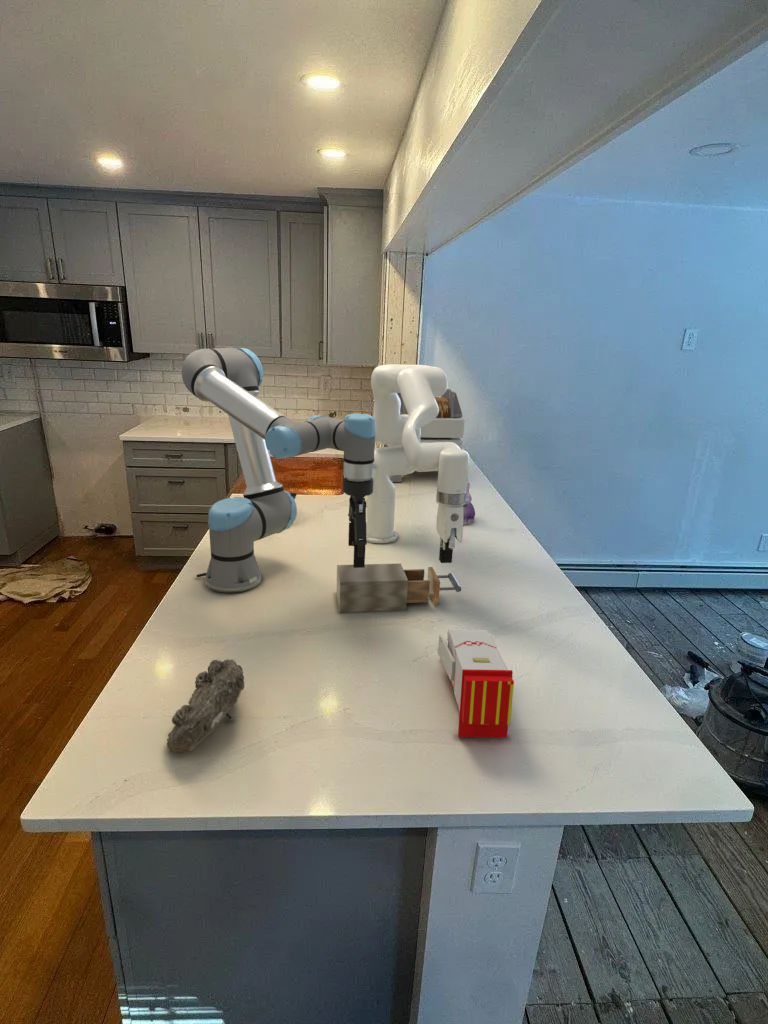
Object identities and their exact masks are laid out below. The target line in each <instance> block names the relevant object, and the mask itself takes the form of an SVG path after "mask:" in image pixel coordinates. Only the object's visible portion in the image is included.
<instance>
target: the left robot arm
mask: <svg viewBox="0 0 768 1024" xmlns="http://www.w3.org/2000/svg"><path fill="white" fill-rule="evenodd" d="M181 365H182V366H181V379H182V382H183V385H184V386H185V388H186V389H187V390H188V391H189V393H191V395H193V396H194V397H195V398H198V399H199V400H200V401H202V402H206V403H207V402H210V403H211V404H213V405H214V406H216V407H217V408H218V409H220V411H223V412H224V413H226V414H227V416H228V420H229V424H230V427H231V432H232V436H233V439H234V443H235V447H236V451H237V454H238V459H239V463H240V467H241V471H242V474H243V477H244V478H243V479H244V482H245V486H246V488H245V490H244V492H243V493H242V495H243V496H234V497H227V498H226V497H225V498H223V499H220V500H218V501H216V502H215V503H213V504H212V505H211V506H210V508H209V509H208V520H207V525H208V531H209V533H208V534H209V547H210V549H209V550H210V560H209V563H208V566H207V570H206V572H202V573H198V574H196V578H202V577H205V584H206V587H208V589H210V590H211V591H214V592H216V593H222V594H237V593H244V592H247V591H250V590H252V589H254V588H256V587H258V586H259V585H260V584H261V582H262V572H261V568H260V566H259V564H258V561H257V558H256V556H255V542H257V541H259V540H261V539H265V538H267V537H270V536H272V535H276V534H281V533H282V532H284V531H285V530H288V529H290V528H291V527H292V526H293V525H294V523H295V521H296V519H297V514H298V509H297V503H296V499H295V500H294V498H293V497H292V496H291V494H290V493H291V492H289V491H287V490H285V489H284V485H283V484H282V483H280V482H279V481H277V478H276V474H275V471H274V467H273V463H272V459H271V457H273V458H275V459H279V460H280V459H291V458H295V457H297V456H302V455H305V454H309V453H313V452H318V451H323V450H326V449H331V450H336V451H340V452H343V462H342V463H343V466H342V467H343V469H342V470H343V471H342V476H343V477H344V478H343V480H342V491H343V493H344V494H345V495H347V496H349V499H348V501H349V502H348V503H349V505H348V506H349V507H348V514H347V516H348V521H349V522H348V541H347V542H348V547H353V564H352V565H353V567H354V568H365V564H366V545H367V544H368V541H366V517H367V500H366V497H367V496H368V495H371V494H372V493H373V482H374V480H373V479H372V477H373V476H374V470H373V468H376V465H375V464H374V450H375V448H376V442H375V437H376V430H375V419H374V417H373V415H370V414H367V413H349V414H346V415H345V417H344V419H340V418H334V417H331V416H327V415H318V414H317V415H312V416H310V418H308V419H307V420H305V421H299V422H296V421H293V420H292V419H290V418H289V417H287V416H285V415H284V414H282V412H279V411H278V410H276V409H275V408H274V407H272V406H270V405H269V404H268V403H266V402H264V401H263V400H261V399H259V398H258V395H260V389H259V387H260V386H261V385H262V383H263V378H264V369H263V365H262V363H261V361H260V358H259V357H258V356H257V355H256V353H255V352H253V351H252V350H250V349H248V348H245V347H236V346H232V347H217V348H200V349H199V348H198V349H197V350H194V351H192V352H191V353H189V354H188V355H187V356H186V357H185V359H184V361H183V362H182V364H181Z"/></svg>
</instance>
